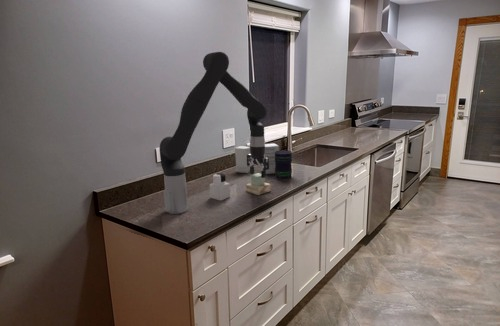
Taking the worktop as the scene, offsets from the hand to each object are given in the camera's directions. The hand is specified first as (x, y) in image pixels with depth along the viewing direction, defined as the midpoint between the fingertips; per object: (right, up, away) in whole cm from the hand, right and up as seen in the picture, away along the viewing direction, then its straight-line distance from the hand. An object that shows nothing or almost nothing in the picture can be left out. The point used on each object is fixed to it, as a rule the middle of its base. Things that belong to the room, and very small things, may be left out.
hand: (257, 175), depth 180 cm
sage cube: (0, -4, +1) cm, 5 cm away
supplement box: (+8, +1, +37) cm, 38 cm away
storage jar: (+15, -2, +25) cm, 30 cm away
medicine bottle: (-19, -11, -6) cm, 22 cm away
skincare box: (-8, +1, +39) cm, 40 cm away
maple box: (0, -8, +2) cm, 9 cm away
